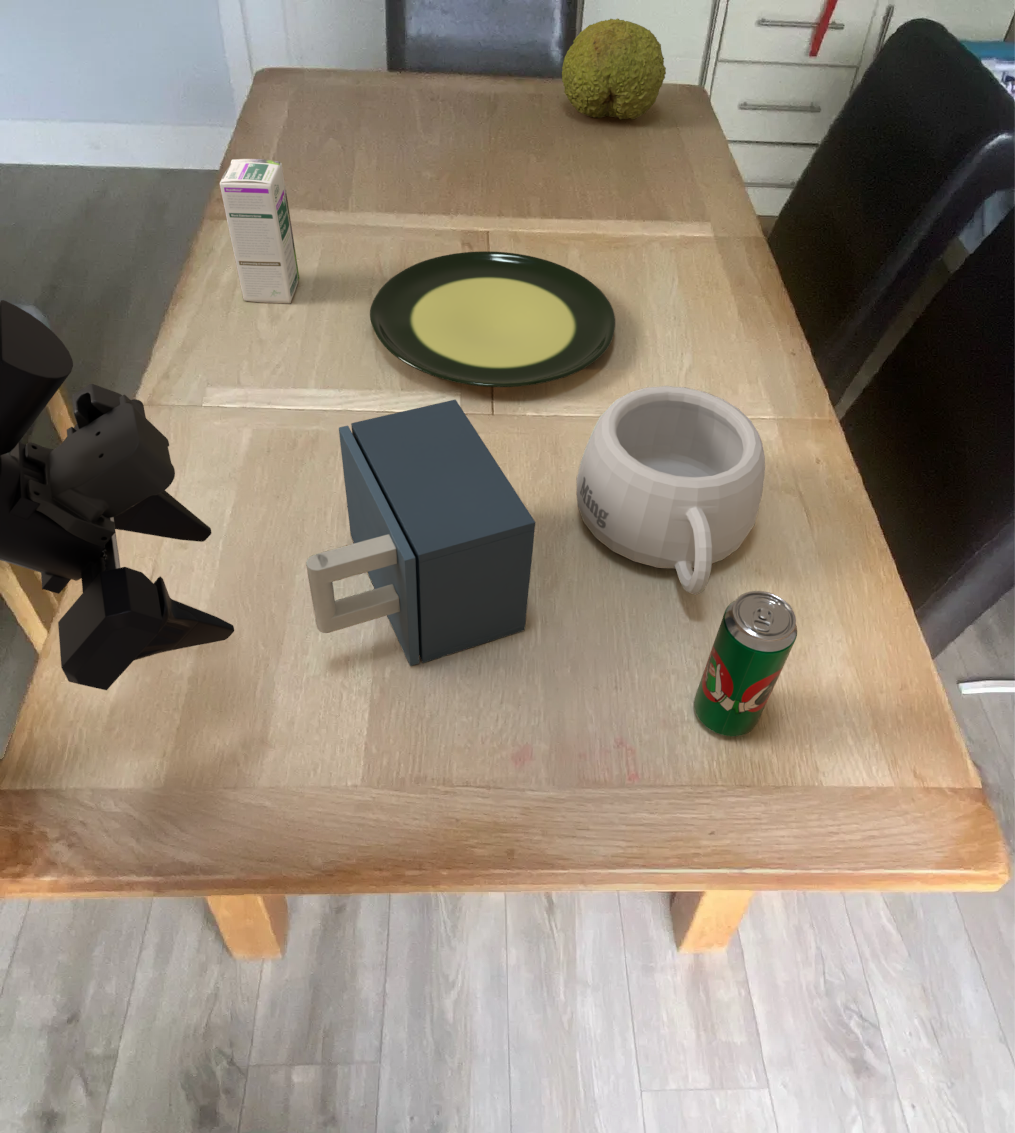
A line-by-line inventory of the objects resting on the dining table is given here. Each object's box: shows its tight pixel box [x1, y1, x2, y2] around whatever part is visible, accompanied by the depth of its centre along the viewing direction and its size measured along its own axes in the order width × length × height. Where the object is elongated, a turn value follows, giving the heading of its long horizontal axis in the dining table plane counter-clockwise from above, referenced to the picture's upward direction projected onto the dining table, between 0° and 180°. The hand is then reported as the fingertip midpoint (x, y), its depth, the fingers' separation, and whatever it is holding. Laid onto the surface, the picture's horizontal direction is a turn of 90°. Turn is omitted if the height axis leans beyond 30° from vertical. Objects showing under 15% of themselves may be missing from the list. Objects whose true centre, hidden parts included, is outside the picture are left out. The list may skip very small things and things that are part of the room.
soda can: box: [693, 590, 798, 738], centre depth 66 cm, size 5×5×12 cm
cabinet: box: [350, 399, 536, 664], centre depth 73 cm, size 9×16×13 cm, turn 24°
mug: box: [576, 385, 766, 595], centre depth 80 cm, size 21×17×10 cm
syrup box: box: [218, 158, 300, 304], centre depth 103 cm, size 6×6×14 cm
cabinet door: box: [305, 425, 420, 667], centre depth 71 cm, size 7×16×12 cm, turn 24°
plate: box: [369, 250, 616, 388], centre depth 104 cm, size 28×28×2 cm
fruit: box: [561, 17, 667, 121], centre depth 145 cm, size 16×14×15 cm
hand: (218, 582), depth 61 cm, fingers open, 9 cm apart
